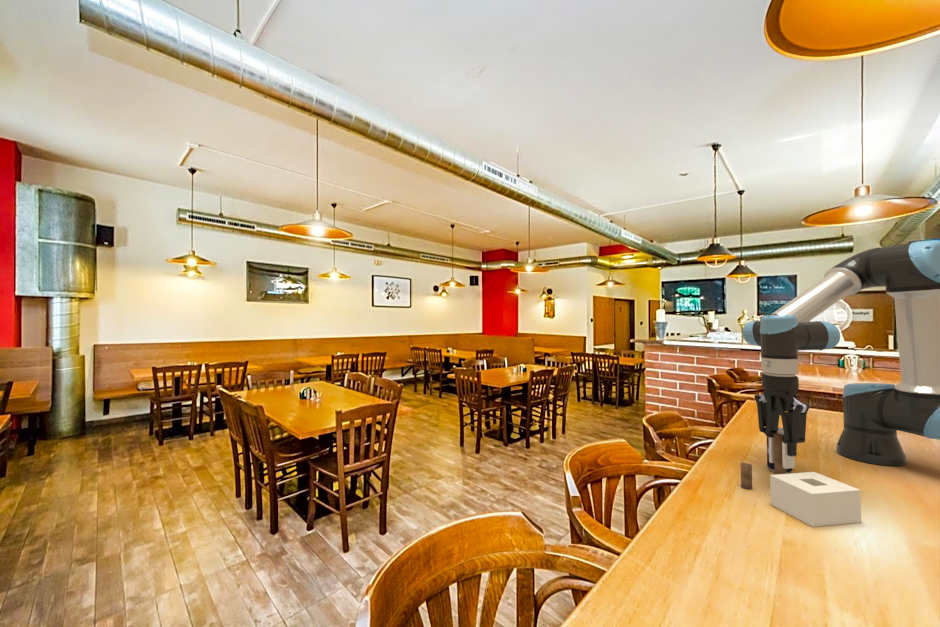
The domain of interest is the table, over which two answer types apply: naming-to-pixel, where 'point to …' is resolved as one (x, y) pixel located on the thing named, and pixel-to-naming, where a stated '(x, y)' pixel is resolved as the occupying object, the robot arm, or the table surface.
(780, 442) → the long pin
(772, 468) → the beverage can
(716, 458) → the table surface
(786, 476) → the hole block
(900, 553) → the table surface
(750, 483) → the short pin
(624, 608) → the table surface
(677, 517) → the table surface
